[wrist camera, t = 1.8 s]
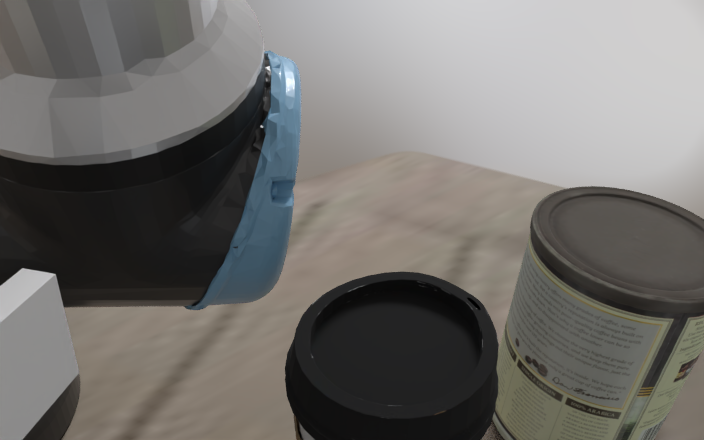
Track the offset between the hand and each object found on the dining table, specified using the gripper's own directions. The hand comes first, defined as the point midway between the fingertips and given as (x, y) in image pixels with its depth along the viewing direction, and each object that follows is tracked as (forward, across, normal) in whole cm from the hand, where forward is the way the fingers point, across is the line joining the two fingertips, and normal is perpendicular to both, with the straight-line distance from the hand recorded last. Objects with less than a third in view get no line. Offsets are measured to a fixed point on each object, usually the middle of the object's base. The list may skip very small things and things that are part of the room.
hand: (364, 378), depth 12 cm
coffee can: (+21, +11, -21) cm, 31 cm away
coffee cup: (+10, 0, -21) cm, 23 cm away
